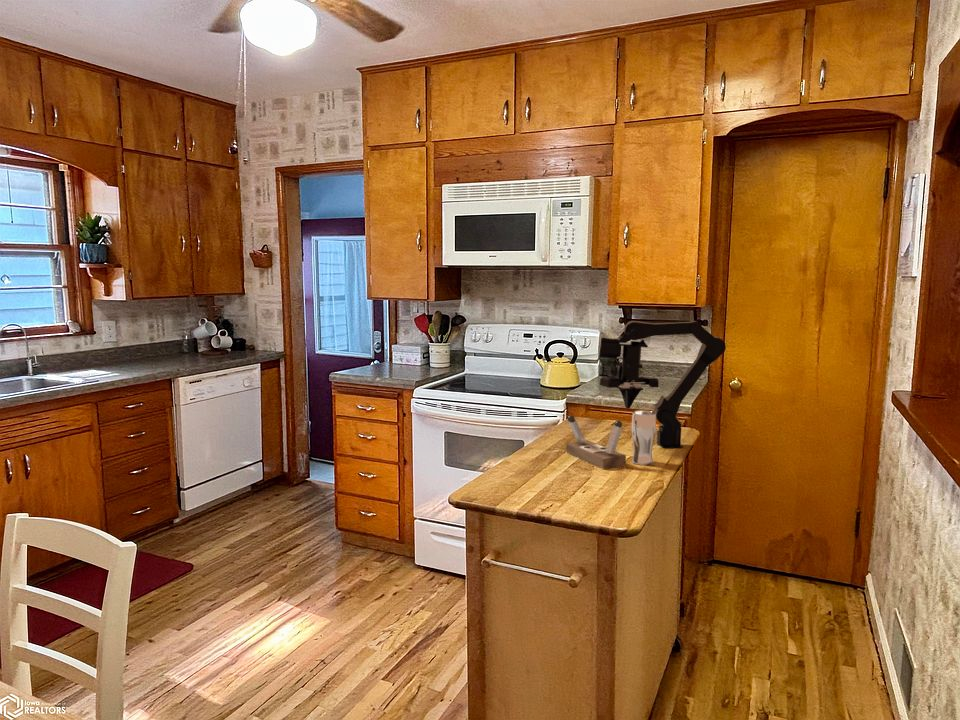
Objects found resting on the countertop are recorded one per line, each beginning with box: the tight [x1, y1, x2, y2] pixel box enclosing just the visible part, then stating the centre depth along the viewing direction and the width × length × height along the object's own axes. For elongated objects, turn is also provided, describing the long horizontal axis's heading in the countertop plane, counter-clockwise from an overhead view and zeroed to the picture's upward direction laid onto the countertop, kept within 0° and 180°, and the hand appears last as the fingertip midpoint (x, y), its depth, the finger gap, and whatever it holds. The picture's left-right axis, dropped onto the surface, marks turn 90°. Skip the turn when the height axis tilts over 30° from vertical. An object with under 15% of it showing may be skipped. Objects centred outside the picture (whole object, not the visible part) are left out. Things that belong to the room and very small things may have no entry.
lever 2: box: [605, 420, 623, 454], centre depth 189 cm, size 2×3×10 cm
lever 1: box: [567, 414, 586, 444], centre depth 200 cm, size 2×3×10 cm
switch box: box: [565, 439, 627, 470], centre depth 196 cm, size 8×19×4 cm, turn 26°
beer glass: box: [631, 409, 657, 466], centre depth 191 cm, size 7×7×15 cm
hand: (627, 408), depth 210 cm, fingers closed
